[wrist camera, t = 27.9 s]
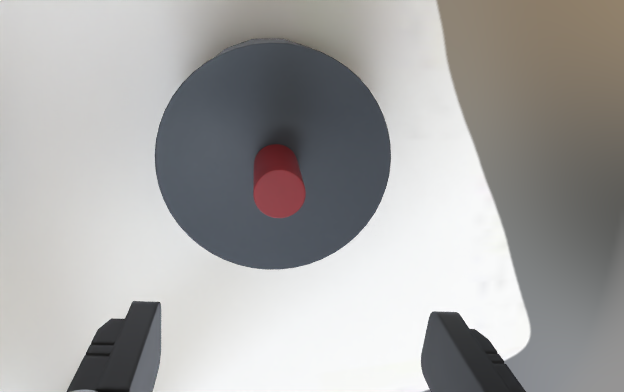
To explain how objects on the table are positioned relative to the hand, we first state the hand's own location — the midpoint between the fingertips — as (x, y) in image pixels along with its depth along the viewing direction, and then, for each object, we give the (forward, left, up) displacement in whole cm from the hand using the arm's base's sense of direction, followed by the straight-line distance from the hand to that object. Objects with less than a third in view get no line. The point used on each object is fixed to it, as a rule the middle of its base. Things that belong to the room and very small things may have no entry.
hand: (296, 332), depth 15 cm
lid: (0, 0, -19) cm, 19 cm away
